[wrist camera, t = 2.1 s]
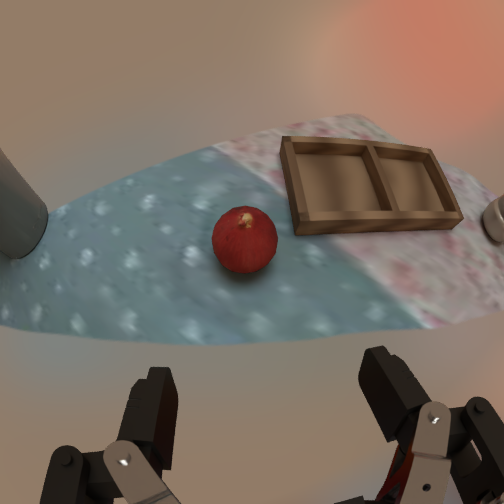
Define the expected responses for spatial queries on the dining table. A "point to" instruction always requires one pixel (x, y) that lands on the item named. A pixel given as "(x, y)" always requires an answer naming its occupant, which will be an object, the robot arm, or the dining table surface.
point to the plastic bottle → (495, 219)
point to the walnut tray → (364, 187)
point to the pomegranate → (244, 239)
